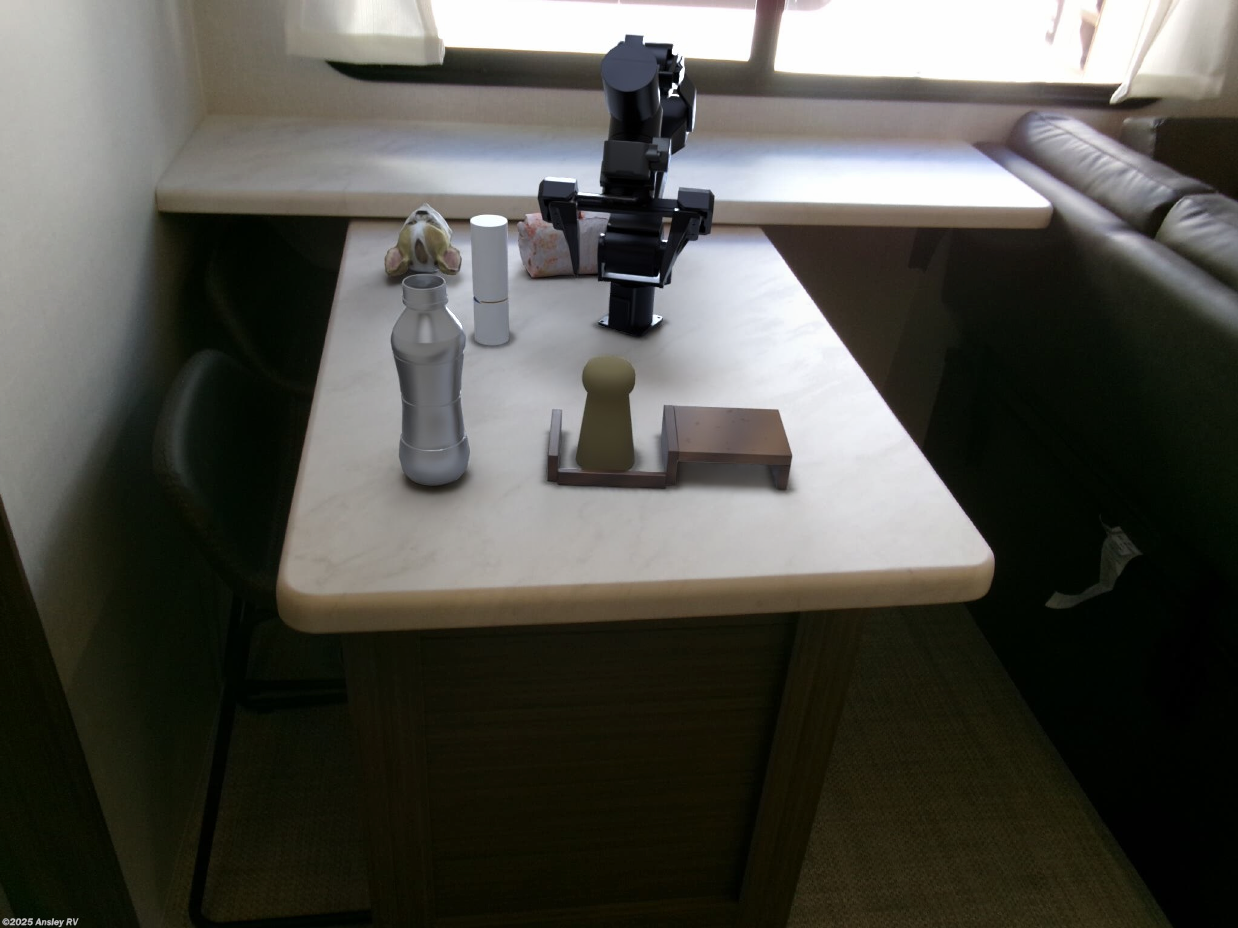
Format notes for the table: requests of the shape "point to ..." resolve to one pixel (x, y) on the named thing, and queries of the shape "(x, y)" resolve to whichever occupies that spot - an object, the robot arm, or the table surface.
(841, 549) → the table surface
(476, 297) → the tube
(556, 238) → the food item
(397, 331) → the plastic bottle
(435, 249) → the ceramic sculpture
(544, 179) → the robot arm
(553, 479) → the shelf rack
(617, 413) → the olive green pawn
